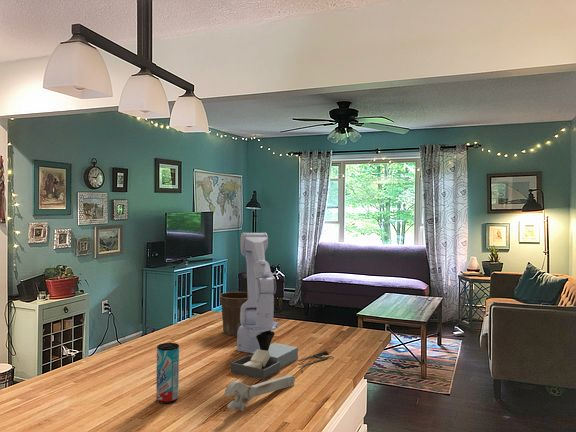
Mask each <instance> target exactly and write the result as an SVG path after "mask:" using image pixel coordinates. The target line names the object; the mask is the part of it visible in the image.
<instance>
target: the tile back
mask: <svg viewBox="0 0 576 432" xmlns="http://www.w3.org/2000/svg"><path fill="white" fill-rule="evenodd" d="M251 356H252V355H251ZM269 358H270V354H269V351H266V350H260V349H257V350H256V352H255V353H254V355H253V356H252V358H251V361H253V362H258V363H262V366H263V367H265V365H266V363H267V361H268V360H269Z"/></svg>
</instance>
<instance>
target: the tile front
mask: <svg viewBox="0 0 576 432" xmlns="http://www.w3.org/2000/svg"><path fill="white" fill-rule="evenodd" d="M243 365H246V366H250V367H255V368H259V369H262V363H258V362H253V361H249V362H247V363H245V364H243Z"/></svg>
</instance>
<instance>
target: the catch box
mask: <svg viewBox="0 0 576 432" xmlns="http://www.w3.org/2000/svg"><path fill="white" fill-rule="evenodd" d="M251 358H252V355H250V354H247V355H245V356H243V357H239V358H238V359H236V360H234V361H232V362H230V373H234V374H237V375H241V376H246V377H249V378H254V379H258V380H262V381H265V380H266V379H268V378H271V377H272V376H275V375H276V374H278V373H279V372H281V368H280V362H278V361H273V360H268V361H267V363H266V365H265V367H263V366H262V369H259V368H255V367H250V366H246V365H243V364H245V363H247V362H249V361H251Z"/></svg>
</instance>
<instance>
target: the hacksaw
mask: <svg viewBox="0 0 576 432" xmlns="http://www.w3.org/2000/svg"><path fill="white" fill-rule="evenodd" d="M325 355H326V356H325ZM327 355H329V351H328V350H323V351H321V352H319V353H315V354H313V355H311V356H310V355H309V356H308V357H304V358H300V359H296V362H303V361H306V360H308V359H313V358H318V359H316V360H314V361H312V362H311V361H310V362H309V363H306V364H304V365H301V366H299V367H297V368H298V369H300V371H301V374H303V373H304V371H303V368H306V367H307V366H310V365H313V364H317V363H320V362H323V361H326V360H329V359H330V358H332V360H334V359H335V357H334V356H333V355H332V356H331V355H329V356H327Z"/></svg>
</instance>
